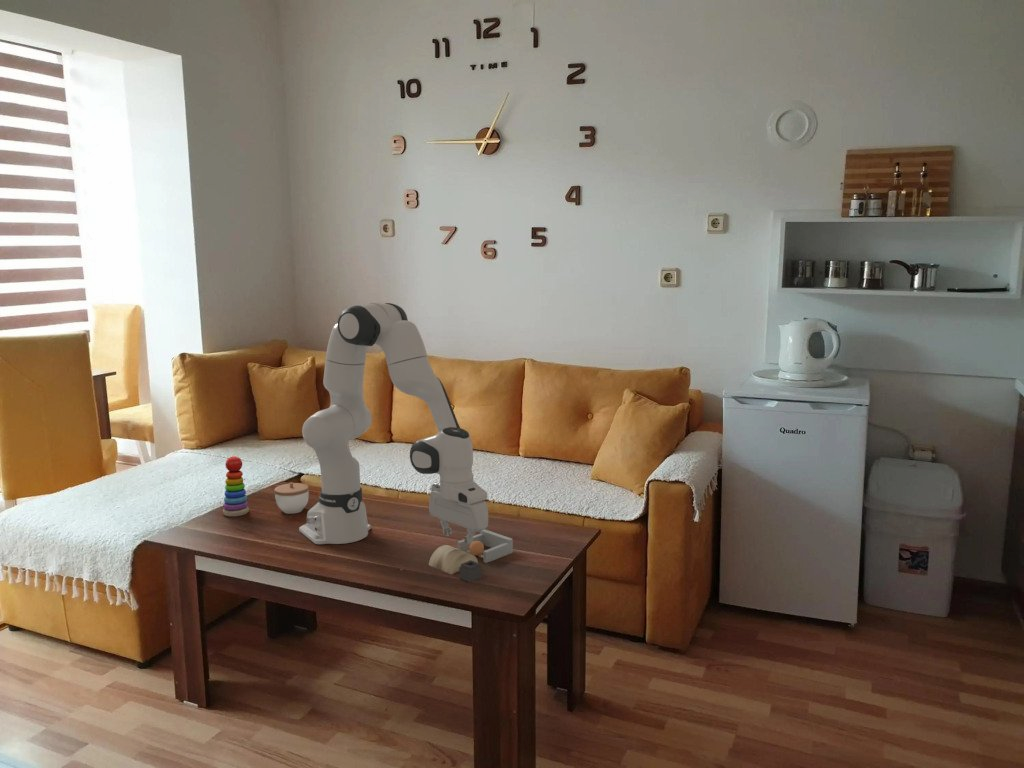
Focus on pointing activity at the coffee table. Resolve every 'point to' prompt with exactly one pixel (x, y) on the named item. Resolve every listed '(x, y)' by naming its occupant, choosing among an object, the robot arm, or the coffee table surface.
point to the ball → (476, 548)
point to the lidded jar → (292, 497)
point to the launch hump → (450, 559)
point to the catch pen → (490, 545)
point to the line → (478, 555)
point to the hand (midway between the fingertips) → (458, 538)
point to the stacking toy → (234, 489)
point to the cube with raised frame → (470, 571)
